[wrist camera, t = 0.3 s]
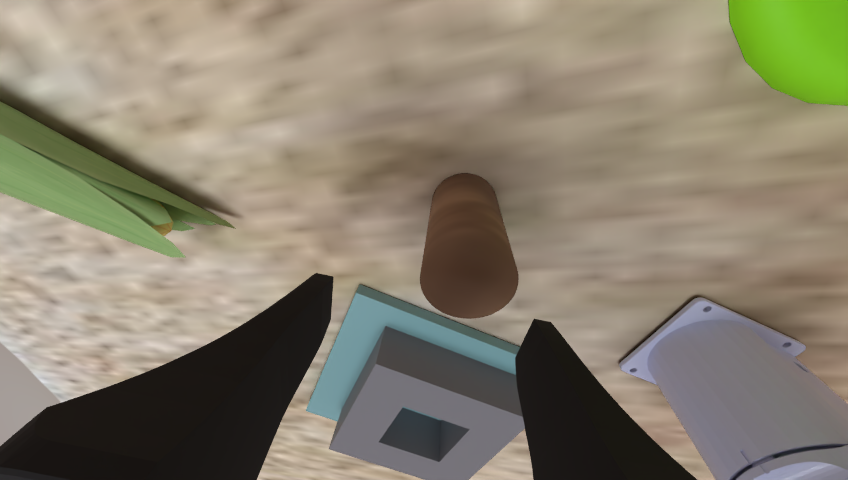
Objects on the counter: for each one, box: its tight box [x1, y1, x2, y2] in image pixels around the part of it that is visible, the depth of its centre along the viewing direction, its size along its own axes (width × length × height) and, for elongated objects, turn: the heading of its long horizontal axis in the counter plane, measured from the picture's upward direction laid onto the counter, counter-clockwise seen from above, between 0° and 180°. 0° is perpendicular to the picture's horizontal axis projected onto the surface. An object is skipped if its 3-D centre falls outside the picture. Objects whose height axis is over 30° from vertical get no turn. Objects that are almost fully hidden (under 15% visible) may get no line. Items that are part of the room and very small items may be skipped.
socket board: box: [306, 284, 525, 480], centre depth 27 cm, size 18×16×4 cm
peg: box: [420, 173, 518, 319], centre depth 17 cm, size 4×4×8 cm
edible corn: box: [0, 102, 236, 257], centre depth 19 cm, size 5×20×5 cm
